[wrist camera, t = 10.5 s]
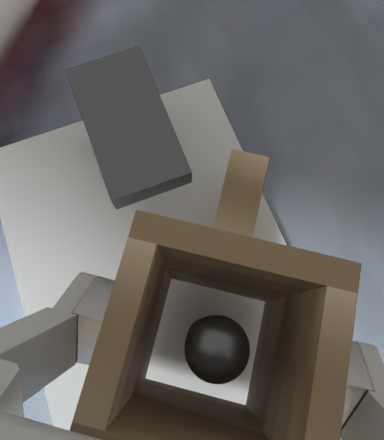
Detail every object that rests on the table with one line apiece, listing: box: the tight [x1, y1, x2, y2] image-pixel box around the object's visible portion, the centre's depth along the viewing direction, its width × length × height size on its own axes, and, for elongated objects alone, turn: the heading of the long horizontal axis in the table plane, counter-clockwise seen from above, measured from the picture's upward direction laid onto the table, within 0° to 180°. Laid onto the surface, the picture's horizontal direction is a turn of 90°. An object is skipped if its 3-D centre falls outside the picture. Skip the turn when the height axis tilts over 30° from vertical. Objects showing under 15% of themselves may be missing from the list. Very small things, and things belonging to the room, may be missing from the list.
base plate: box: [0, 79, 287, 430], centre depth 17 cm, size 16×12×1 cm
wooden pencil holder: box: [69, 149, 361, 440], centre depth 12 cm, size 10×5×7 cm, turn 166°
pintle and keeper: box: [66, 46, 250, 384], centre depth 14 cm, size 12×3×8 cm, turn 21°
